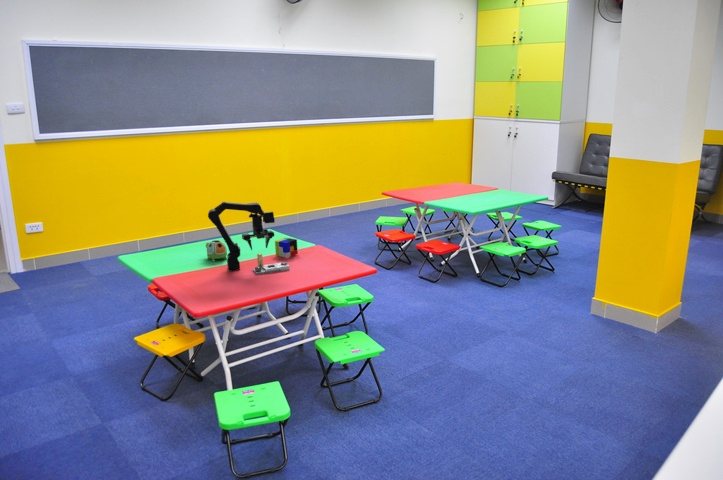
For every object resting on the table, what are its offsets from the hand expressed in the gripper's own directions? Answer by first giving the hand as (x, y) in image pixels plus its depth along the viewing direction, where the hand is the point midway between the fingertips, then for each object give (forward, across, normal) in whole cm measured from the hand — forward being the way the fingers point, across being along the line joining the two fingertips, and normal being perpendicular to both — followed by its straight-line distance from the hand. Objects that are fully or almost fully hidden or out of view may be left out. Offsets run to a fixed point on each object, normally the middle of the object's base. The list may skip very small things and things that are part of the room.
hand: (259, 249), depth 347 cm
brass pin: (+11, 0, 0) cm, 11 cm away
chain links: (+11, +4, -10) cm, 16 cm away
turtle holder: (+12, -21, +32) cm, 40 cm away
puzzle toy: (+12, +22, +17) cm, 30 cm away
